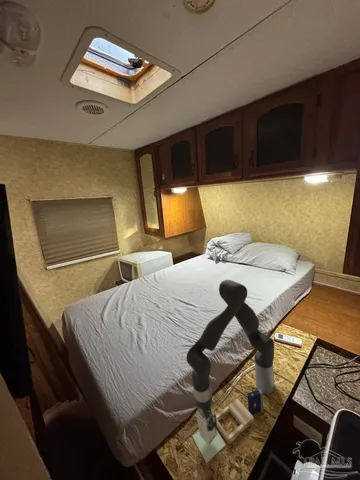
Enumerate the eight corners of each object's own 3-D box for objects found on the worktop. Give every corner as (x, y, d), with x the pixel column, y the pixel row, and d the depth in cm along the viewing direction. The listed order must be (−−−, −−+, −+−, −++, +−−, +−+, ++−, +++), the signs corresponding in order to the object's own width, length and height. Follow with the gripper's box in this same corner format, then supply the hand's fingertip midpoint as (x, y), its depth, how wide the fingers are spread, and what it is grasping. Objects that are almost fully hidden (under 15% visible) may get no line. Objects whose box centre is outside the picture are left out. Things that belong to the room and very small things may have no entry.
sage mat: (210, 421, 97) (210, 421, 96) (226, 445, 87) (226, 444, 87) (192, 436, 92) (192, 436, 92) (206, 463, 82) (206, 462, 82)
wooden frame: (237, 401, 104) (237, 398, 103) (253, 420, 95) (253, 417, 94) (213, 421, 97) (212, 417, 96) (228, 444, 87) (228, 440, 87)
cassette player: (250, 415, 97) (249, 397, 94) (248, 411, 99) (247, 392, 96) (264, 410, 98) (263, 392, 95) (261, 406, 100) (260, 387, 98)
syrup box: (209, 446, 85) (205, 421, 81) (199, 434, 89) (195, 411, 86) (217, 435, 88) (214, 410, 85) (207, 424, 93) (204, 401, 89)
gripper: (220, 401, 78) (223, 432, 82) (200, 375, 91) (203, 402, 95) (205, 413, 75) (209, 444, 79) (186, 384, 87) (190, 412, 91)
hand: (206, 421), depth 87 cm, fingers closed on syrup box, 6 cm apart
